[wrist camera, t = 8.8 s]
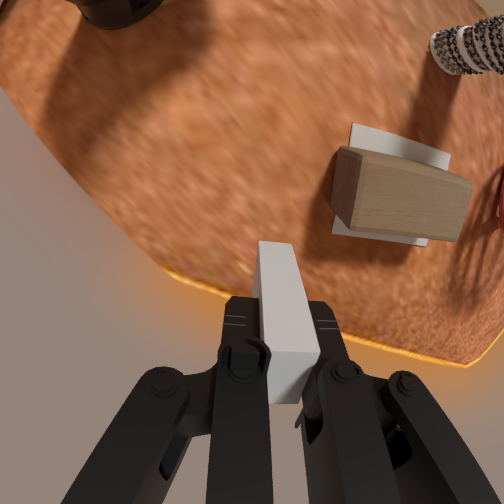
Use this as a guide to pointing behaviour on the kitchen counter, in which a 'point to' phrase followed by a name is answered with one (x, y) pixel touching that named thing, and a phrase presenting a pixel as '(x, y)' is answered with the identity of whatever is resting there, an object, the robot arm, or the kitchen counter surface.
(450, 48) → the decorative candle
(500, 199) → the spiral basket
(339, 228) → the mat
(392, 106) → the kitchen counter surface
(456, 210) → the wooden block
